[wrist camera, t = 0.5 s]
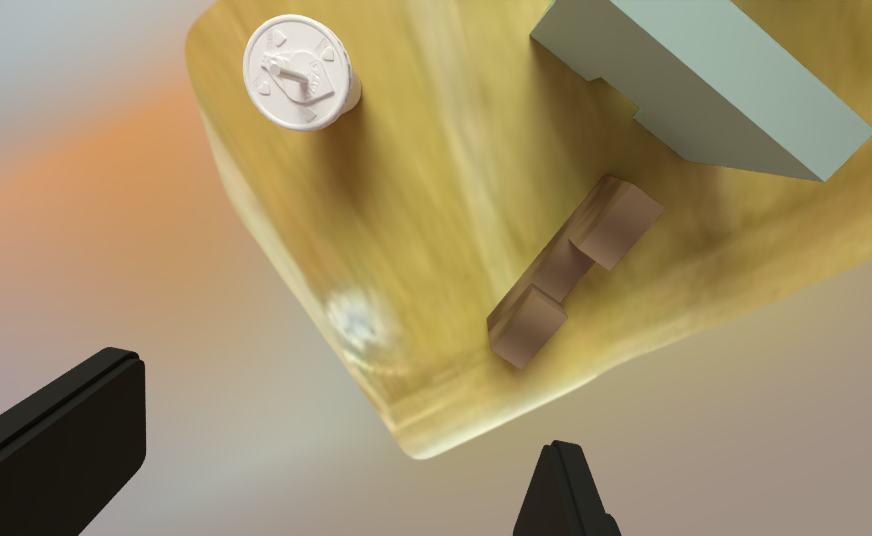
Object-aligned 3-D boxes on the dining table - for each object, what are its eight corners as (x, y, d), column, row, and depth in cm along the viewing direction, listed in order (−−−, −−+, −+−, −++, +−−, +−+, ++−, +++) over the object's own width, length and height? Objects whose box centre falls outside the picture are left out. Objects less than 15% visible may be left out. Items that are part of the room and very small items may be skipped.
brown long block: (605, 174, 36) (633, 183, 30) (632, 195, 36) (665, 208, 30) (486, 318, 40) (491, 350, 35) (512, 335, 41) (521, 370, 35)
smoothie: (361, 143, 36) (305, 153, 23) (288, 110, 35) (186, 101, 22) (390, 64, 34) (346, 25, 21) (312, 28, 33) (216, -35, 20)
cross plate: (529, 34, 33) (577, -27, 20) (555, -3, 32) (624, -94, 19) (686, 160, 35) (824, 182, 22) (713, 128, 34) (876, 130, 21)
